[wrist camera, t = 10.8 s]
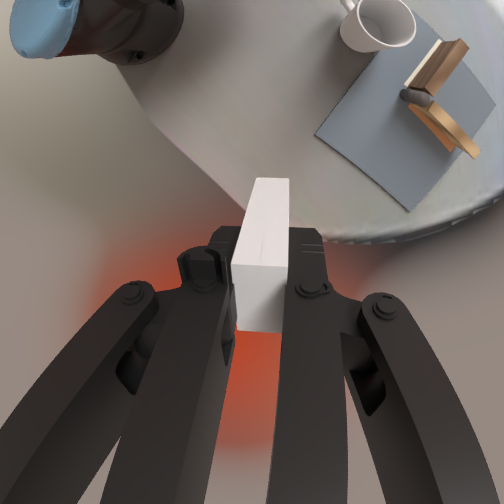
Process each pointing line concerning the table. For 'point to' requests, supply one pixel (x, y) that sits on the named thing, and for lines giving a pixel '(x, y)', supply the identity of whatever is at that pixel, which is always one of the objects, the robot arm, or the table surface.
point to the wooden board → (449, 128)
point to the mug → (377, 25)
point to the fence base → (434, 72)
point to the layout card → (404, 119)
